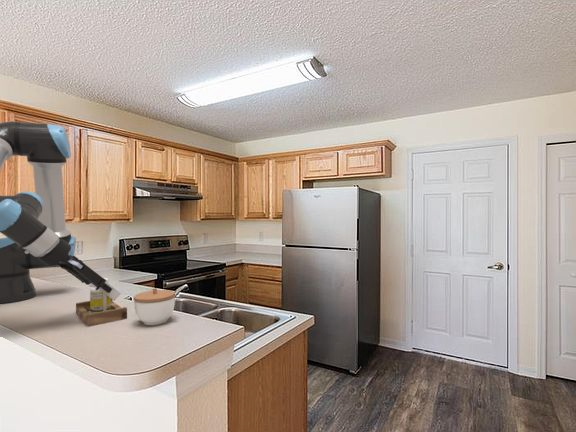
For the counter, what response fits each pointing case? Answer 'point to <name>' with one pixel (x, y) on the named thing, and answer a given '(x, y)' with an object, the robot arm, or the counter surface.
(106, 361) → the counter surface
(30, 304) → the counter surface
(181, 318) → the counter surface
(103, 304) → the supplement bottle
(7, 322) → the counter surface
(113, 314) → the walnut frame
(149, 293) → the lidded jar
